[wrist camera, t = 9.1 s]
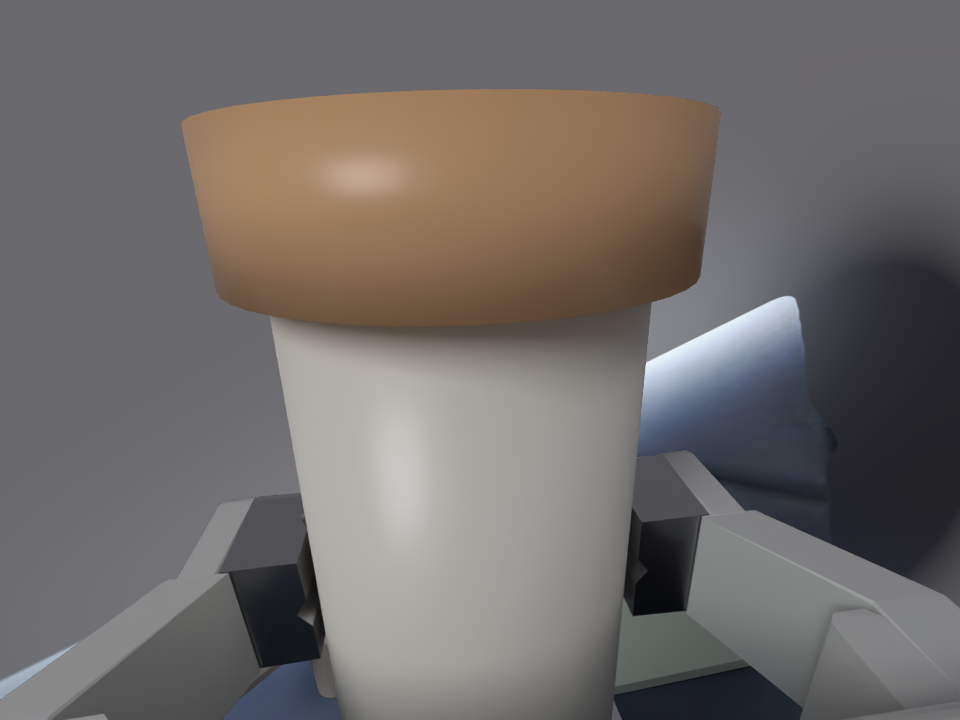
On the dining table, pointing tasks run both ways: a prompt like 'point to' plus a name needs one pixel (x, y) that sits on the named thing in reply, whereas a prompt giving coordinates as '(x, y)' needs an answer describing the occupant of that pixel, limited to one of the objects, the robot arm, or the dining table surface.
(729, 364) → the dining table surface
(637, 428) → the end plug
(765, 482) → the dining table surface
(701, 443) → the dining table surface
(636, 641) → the rubber mat
